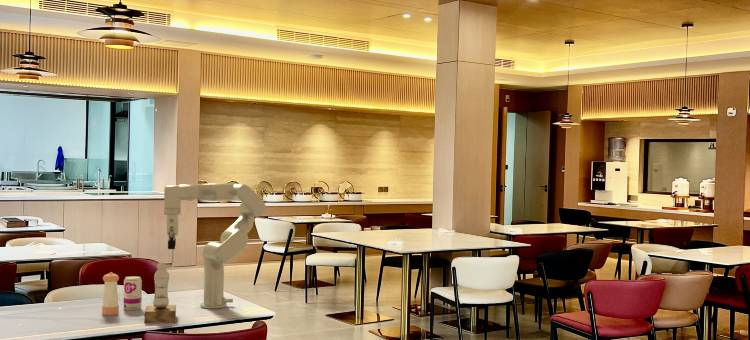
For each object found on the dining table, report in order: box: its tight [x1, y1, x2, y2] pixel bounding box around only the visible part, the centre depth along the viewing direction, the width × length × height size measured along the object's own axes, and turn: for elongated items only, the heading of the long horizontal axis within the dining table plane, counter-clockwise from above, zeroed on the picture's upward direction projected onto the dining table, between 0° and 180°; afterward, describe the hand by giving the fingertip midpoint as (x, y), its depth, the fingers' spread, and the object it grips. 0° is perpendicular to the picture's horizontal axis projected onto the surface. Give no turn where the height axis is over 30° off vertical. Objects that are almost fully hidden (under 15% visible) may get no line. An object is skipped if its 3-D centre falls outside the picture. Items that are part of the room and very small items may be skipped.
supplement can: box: [123, 275, 143, 311], centre depth 359 cm, size 8×8×15 cm
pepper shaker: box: [101, 271, 120, 316], centre depth 347 cm, size 7×7×19 cm
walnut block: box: [144, 304, 177, 324], centre depth 337 cm, size 13×13×5 cm
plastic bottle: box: [152, 263, 170, 309], centre depth 337 cm, size 6×7×20 cm
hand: (171, 247), depth 353 cm, fingers open, 9 cm apart
